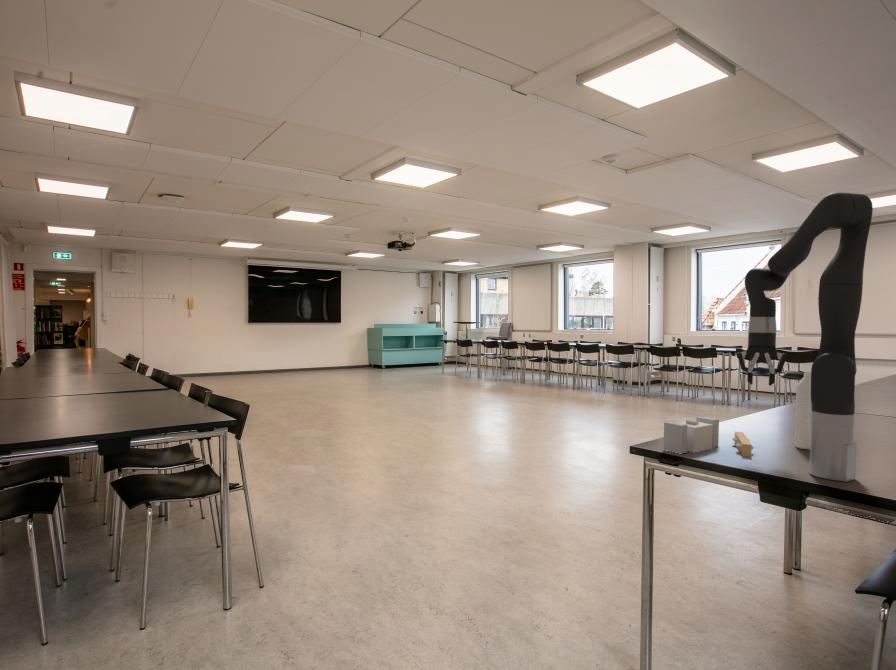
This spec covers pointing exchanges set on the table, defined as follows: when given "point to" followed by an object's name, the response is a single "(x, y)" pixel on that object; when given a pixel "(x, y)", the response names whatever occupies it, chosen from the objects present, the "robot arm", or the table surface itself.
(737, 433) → the tan wooden bar
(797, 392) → the water bottle
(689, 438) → the notched grey block
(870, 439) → the table surface
